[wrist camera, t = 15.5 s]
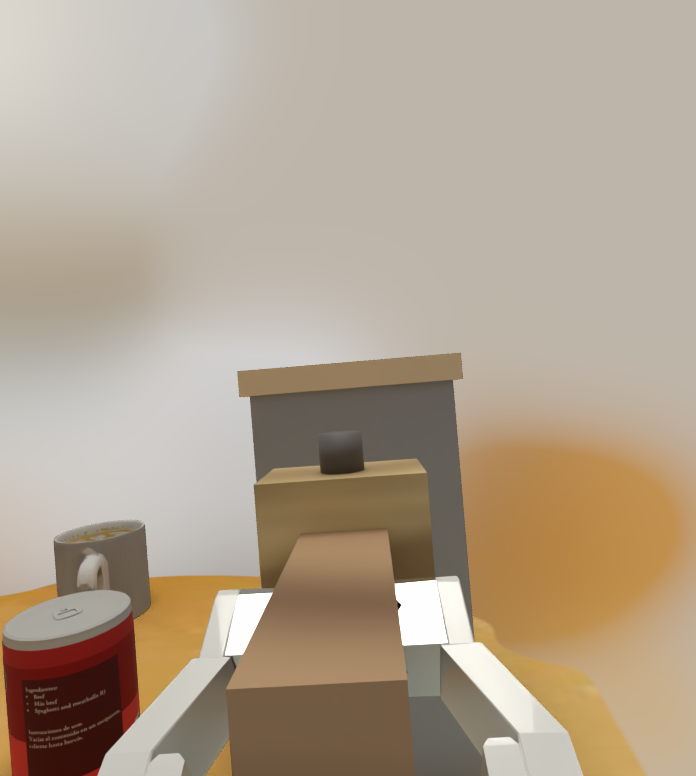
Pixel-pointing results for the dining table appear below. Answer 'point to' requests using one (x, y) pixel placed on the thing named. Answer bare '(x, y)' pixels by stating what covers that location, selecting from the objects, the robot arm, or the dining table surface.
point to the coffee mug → (105, 561)
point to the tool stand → (381, 443)
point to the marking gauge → (331, 618)
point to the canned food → (70, 682)
